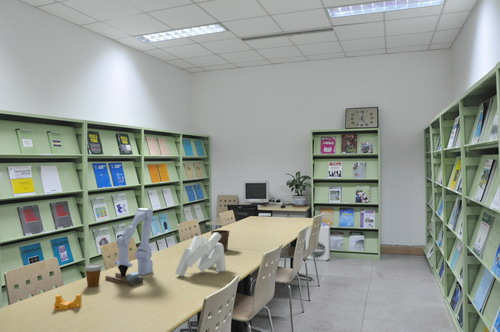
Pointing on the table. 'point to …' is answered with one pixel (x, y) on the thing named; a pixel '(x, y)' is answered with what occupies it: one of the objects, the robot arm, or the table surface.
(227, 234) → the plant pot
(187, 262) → the pile of blocks
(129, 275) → the block
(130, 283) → the guide rail
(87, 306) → the table surface
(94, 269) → the disposable coffee cup
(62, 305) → the pipe clamp
